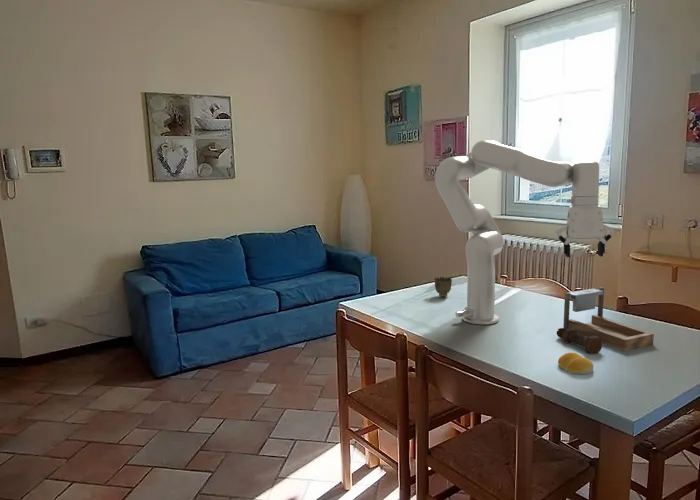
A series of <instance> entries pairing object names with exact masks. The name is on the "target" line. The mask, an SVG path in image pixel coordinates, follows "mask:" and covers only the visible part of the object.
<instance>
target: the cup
mask: <svg viewBox="0 0 700 500" xmlns="http://www.w3.org/2000/svg"><path fill="white" fill-rule="evenodd" d="M433 280H434V281H433V282H434V288H435V289H434V290H435V291H436V293H438V296H439V298H447V297H448V294H449V293H450V292H451V290H452V282H453V278H451V277H450V276H448V277H447V276H445V277H444V276H438V277H436V276H435V277H434V279H433Z"/></svg>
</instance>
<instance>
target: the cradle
mask: <svg viewBox="0 0 700 500" xmlns="http://www.w3.org/2000/svg"><path fill="white" fill-rule="evenodd" d="M598 290H601V291H603V295H598V297H597V298H598V300H597V302H598V303H597V314H592V315H591V320H590V322H586V323H584V322H580V321H578V320H576V319H573V318H570V304H571V298H570V293H568V292H564V306H563V324H562V325H563V326H562V328H564V329H570V328H572V329H575V331H576V332H577V334H580V335H583V336H585V337H591V336H598V337H599V338H600V340H601V341H602V344H605V345H606V346H609V347H611V348H612V347H613V348H614V349H617V350H620V351H623V352H628V351H632V350H638V349H641V348H646V347H650V346H654V340H655V339H654V336H655V333H652V332H650V331H646V330H644V329H640V328H638V327H637V328H636V327H635V326H630V325H628V324H624V323H621V322H618V321H615V320H612V319H609V318H606V317H603V316H604V315H603V313H604V299H605V297H604V296H605V287H603V286H602V287H601V286H599V287H598Z"/></svg>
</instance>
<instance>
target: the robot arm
mask: <svg viewBox="0 0 700 500" xmlns="http://www.w3.org/2000/svg"><path fill="white" fill-rule="evenodd" d="M489 169H493V170H496V171H500V172H503V173H506V174H509V175H512V176H515V177H517V178H521V179H523V180H526V181H530V182H533V183H536V184H539V185H544V186H546V187H551V188H556V187H562V186H567V185H571V196H570V198H567V199H566V203H567V204H570V206H569V208H568V212H567V217H566V225H563V226H561V227H559V228H557V229H555V230H554V233H555V235H556V237H557V239H558V240H560V241H561V243H563V255H565V257H567V258H570V257H571V244H570V242H571V241H572V240H573V239H574V240H581V239H582V240H587V239H589V240H590V239H591V240H592V239H593V240H594V239H596V240H598V243H597V256H599V257H604V254H605V253H606V243H607V242H608V241H609V240H610V239H611V238H612V236H613V234H614V232H615V231H616V229H614V228H613V227H610V226H608V225H607V224H604V213H603V208H602V205H599V193H600V192H599V191H600V190H599V187H600V164H599V162H597V161H596V160H594V161H593V160H589V161H587V160H585V161H576V162H569V161H552V160H549V159H548V160H547V159H544V158H540V157H536V156H534V155H531V154H529V153H527V152H526V151H525V150H523V149H520V148H519V147H518V148H517V147H514V146H513V147H512V146H508V145H507V144H506V145H504V144H501V143H500V142H499V141H496V140H488V139H486V140H480V141H478V142H476V143H475V144H473V146H472V148H471V152H469V153H466V154H465V155H462V156H460V155H459V156H457V155H456V156H448V157H447V158H445V159H443V160H442V161H441V162H440V163H439V165H438V167H437V169H436V171H435V175H434V178H435V179H434V181H435V183H434V184H435V186H436V189H437V192H438V194H439V195H440V197H441V198H442V201H443V202H444V204H445V206H446V208H447V210H448V212H449V214H450V216H451V218H452V220H453V222H454V224H455V225H456V228H457V229H458V230H459V231H461V232H463V233H471V234H472V235H471V236H470V237H469V238H468V240H467V242H466V245H465V257H466V267H467V271H466V272H467V274H466V276H467V283H466V284H467V287H466V289H467V290H466V292H467V293H466V295H467V298H466V301H467V303H466V304H467V305H466V306H465V307H464V309H463V310H461V311H460V310H459V311H456V312H455V317H456V318H460V317H462V320H463V321H464V322H466V323H469V324H473V325H480V326H481V325H483V326H485V325H487V326H488V325H493V324H496V323H497V322H499V315H497V314H495V303H496V302H495V299H496V296H495V295H496V290H495V288H496V287H495V286H496V267H495V266H496V265H495V261H494V259H495V258H494V256H496V255H498V254H500V253H501V252H502V250H503V248H504V245H505V244H504V243H505V242H504V238H503V235H502V233H501V231H500V229H499V227H498V225H497V223H496V221H495V220H494V218H493V216H492V214H491V213H490V211H489V210H488V209H487V208H486V207H485V206H484V205H481V204H480V203H474V202H472V200H471V198H470V197H469V194H468V192H467V190H466V189H465V188H464V187H463V186H462V185H461V183H460V181H465V180H469V179H472V178H474V177H475V176H477V175H479V174H482V173H483V172H485V171H487V170H489ZM605 230H606V231H607V232H606V234H605V232H604V231H605ZM564 232H566V236H565V237H564V236H563V235H562V233H564ZM604 234H605V235H604Z"/></svg>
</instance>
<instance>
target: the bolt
mask: <svg viewBox="0 0 700 500" xmlns="http://www.w3.org/2000/svg"><path fill="white" fill-rule="evenodd" d="M556 335H557V337H558V338H559V339H560V338H561V339H562V340H563V342H564V343H566V344H575V345H577V346H580V347H582V348H584V350H585V352H586V353H587V354H589V355H597V354H598V353H599V352H601V350H602V347H603V343H602V341H601V340H600V338H599V337H598V336H591V337H585V336H583V335H580V334H578V333H577V332H576V331H575V329H572V328H570V329H564V328H563V327H560V328H557V331H556Z"/></svg>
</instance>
